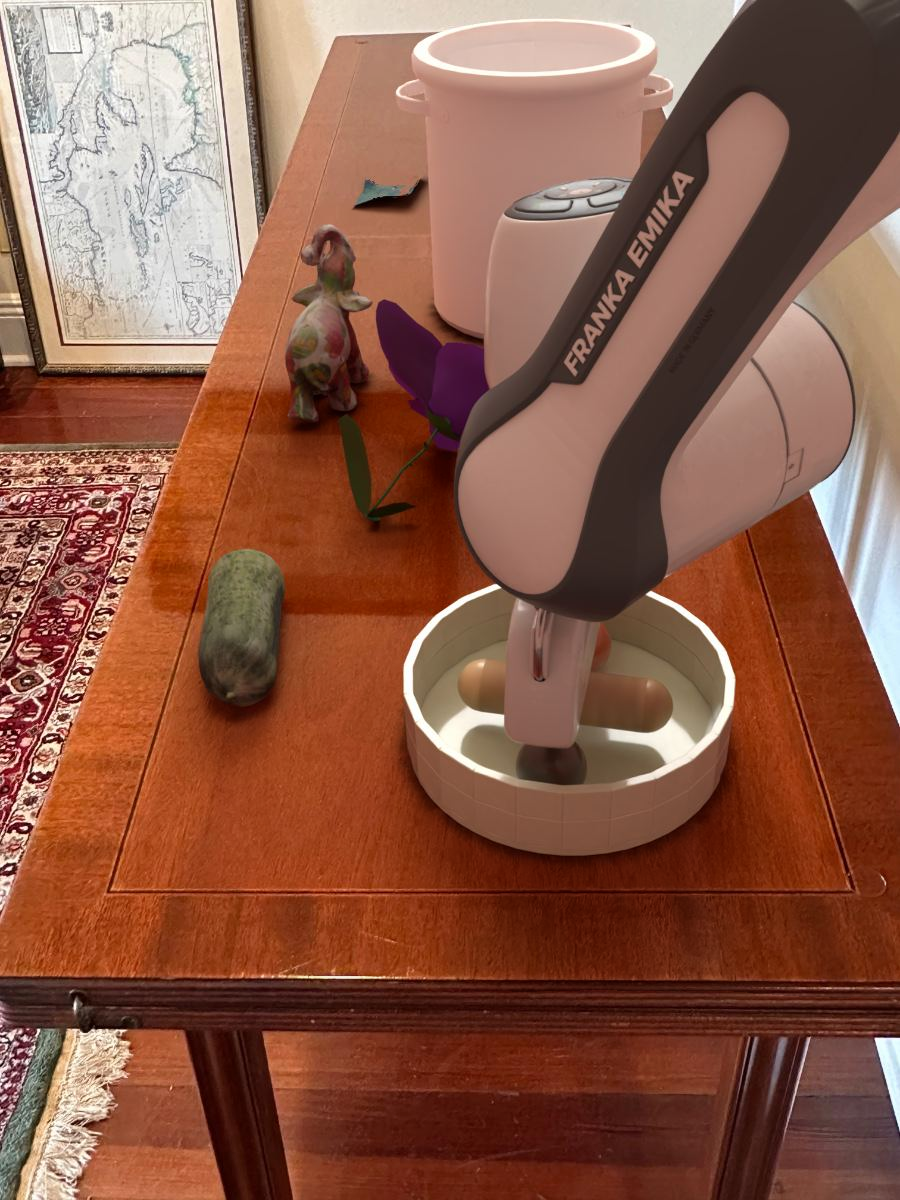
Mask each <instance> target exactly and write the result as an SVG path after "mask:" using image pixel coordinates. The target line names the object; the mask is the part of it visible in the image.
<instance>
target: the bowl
mask: <svg viewBox="0 0 900 1200" xmlns="http://www.w3.org/2000/svg"><path fill="white" fill-rule="evenodd" d="M515 600H516V597H515V596H513V595H511V594H510V593H508V592H507V591H505V590H504V589H502V588H501V587H499V586H498V585H497V584H496V583H494V584H491V585H489V586H487V587H483V588H482V589H478V590H477V591H474V592H471V593H470V594H467V595H464V596H462V597H460V598H459V599H457V600H456V601H454V602H453V603H452V604H450V605H448V606H447V607H446V608H444V609H443V610H441V611H439V612H438V613H437V614H435V615H434V616H432V618H431V619H430V620H429V622H428V623H426V625H425V626H424V627H423V628H422V630H421V631H420V632H419V633H418V634H417V635H416V637H414V639H413V641H412V643H411V646H410V648H409V651H408V654H407V655H406V658H405V661H404V663H403V667H402V687H403V688H402V695H403V696H402V697H403V698H402V699H403V708H404V711H403V712H404V723H405V735H406V747H407V750H408V755H409V758H410V759H409V760H410V762H411V766H412V769H413V772H414V774H415V775H416V777H417V779H418V782H419V784H420V785H421V787H422V788H423V789H424V791H425V792H426V794H427V796H429V799H431V800H432V801H433V802H434V803H435V804H436V805H437V807H439V808H440V810H442V812H444V813H445V814H446V815H448V816H449V817H450V818H451V819H453V820H454V821H455V822H457V823H458V824H459V825H461V826H463V827H464V828H466V829H468V830H470V831H471V832H473V833H475V834H477V835H479V836H481V837H483V838H486V839H488V840H490V841H493V842H495V843H497V844H500V845H503V846H507V847H510V848H513V849H516V850H522V851H524V852H525V851H527V852H531V853H535V854H543V855H551V856H562V857H563V856H564V857H565V856H566V857H567V856H569V857H570V856H571V857H573V856H575V857H576V856H577V857H578V856H582V857H584V856H586V857H587V856H595V855H604V854H611V853H616V852H620V851H624V850H630V849H632V848H635V847H638V846H641V845H645V844H649V843H650V842H652V841H655V840H657V839H659V838H661V837H663V836H666V835H668V834H670V833H671V832H673V831H674V830H676V829H678V828H679V827H680V826H682V825H684V824H685V823H687V821H688V820H690V819H691V818H692V817H693V816H695V815H696V814H697V813H698V812H700V810H701V809H702V808H703V806H705V804H706V803H707V802H708V800H709V799H710V798H711V796H712V795H713V793H714V792H715V790H716V788H717V787H718V785H719V783H720V780H721V777H722V774H723V772H724V769H725V765H726V764H727V758H728V753H729V744H730V739H731V731H732V723H733V716H734V710H735V698H736V684H737V679H736V675H735V673H734V669H733V666H732V663H731V661H730V660H731V659H730V657H729V654H728V652H727V649H726V648H725V646H724V645H723V644H722V643H721V641H720V640H719V639H718V638H717V636H716V635H715V633H714V632H713V631H712V630H711V628H710V627H709V626H708V625H707V624H706V623H704V622H703V621H702V620H700V619H699V618H698V617H697V616H696V615H694V614H693V613H691V612H690V611H689V610H687V608H685V607H684V606H682V605H681V604H679V603H678V602H676V601H673V600H672V599H670V598H667V597H665V596H663V595H661V594H659V593H656V592H655V591H653V590H651V591H650V592H649V593H647V594H646V595H644V596H643V597H642V598H640V599H639V600H638V601H636V602H635V603H633V604H632V605H631V606H629V607H628V608H627V609H625V610H624V611H622V612H621V613H620V614H618V615H617V616H615V617H614V618H612V619H609V620H607V621H602V623H603V624H604V625H605V626H606V628H607V629H608V631H609V634H610V637H611V645H612V646H611V653H610V656H609V658H608V660H607V662H606V663H605V664H604V666H603V667H602V668H601V669H599V670H598V671H597V672H600V673H608V674H616V675H624V676H633V677H641V678H649V679H653V680H656V681H658V682H660V683H661V684H663V685H664V686H665V687H666V688H667V689H668V691H669V692H670V694H671V697H672V700H673V712H672V715H671V718H670V720H669V721H668V723H667V724H666V725H665V726H664V727H663V728H661V729H659V730H658V731H655V732H651V733H639V732H631V731H624V730H616V729H608V728H601V727H593V726H585V725H579V728H578V732H577V736H576V739H575V741H576V742H577V743H578V744H579V746H580V747H581V748H582V750H583V752H584V754H585V757H586V761H587V775H586V778H585V781H584V784H582V785H556V784H549V783H542V782H535V781H528V780H521V779H518V778H517V775H516V759H517V756H518V753H519V751H520V749H521V747H522V746H523V745H524V744H522V743H517V742H514V741H512V740H511V739H510V738H509V737H508V736H507V734H506V732H505V728H504V715H501V714H493V713H486V712H479V711H475V710H473V709H471V708H470V707H468V706H467V705H466V704H465V703H464V702H463V701H462V699H461V697H460V695H459V692H458V679H459V676H460V673H461V672H462V670H463V669H464V668H465V667H466V666H467V665H468V664H469V663H471V662H472V661H475V660H478V659H493V660H501V661H506V652H507V642H508V634H509V627H510V620H511V615H512V611H513V607H514V604H515Z"/></svg>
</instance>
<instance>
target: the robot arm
mask: <svg viewBox="0 0 900 1200" xmlns="http://www.w3.org/2000/svg"><path fill="white" fill-rule="evenodd" d="M899 209H900V0H745V1H744V3H743V4H742V5H741V6H740V8H739V10H738V12H736V13H735V15H734V17H733V18H732V20H731V21H730V23H729V24H728V26H727V27H726V29H725V30H724V32H723V33H722V34H721V36H720V38H719V39H718V40H717V42H716V43H715V44H714V45H713V47H712V48H711V50H710V51H709V52H708V54H707V55H706V57H705V58H704V60H703V61H702V63H701V64H700V66H699V67H698V68H697V70H696V72H695V73H694V75H693V76H692V78H691V79H690V81H689V83H688V84H687V86H686V87H685V89H684V90H683V92H682V93H681V95H680V97H679V99H678V101H677V102H676V104H675V105H674V107H673V109H672V110H671V112H670V114H669V115H668V117H667V119H666V120H665V122H664V123H663V125H662V127H661V129H660V131H659V132H658V134H657V135H656V138H655V139H654V141H653V142H652V144H651V146H650V148H649V149H648V151H647V153H646V154H645V156H644V159H643V160H642V162H641V163H640V167H639V169H638V171H637V173H636V174H635V176H634V178H628V177H598V178H589V179H588V180H580V181H574V182H572V181H570V182H566V183H562V184H559V185H555V186H552V187H549V188H546V189H543V190H540V191H538V192H535V193H532V194H530V195H527V196H525V197H523V198H521V199H519V200H517V201H515V202H514V203H513V205H511V206H510V207H509V208H507V209H506V211H504V212H503V214H502V215H501V217H500V219H499V221H498V224H497V227H496V229H495V232H494V236H493V240H492V244H491V248H490V254H489V260H488V267H487V276H486V289H485V307H484V340H483V348H484V366H485V375H486V380H487V383H488V386H489V389H490V390H489V391H487V392H486V393H485V394H484V395H483V396H482V397H481V398H480V399H479V400H478V401H477V402H476V403H475V405H474V406H473V408H472V410H471V412H470V415H469V417H468V420H467V423H466V425H465V428H464V431H463V434H462V437H461V441H460V445H459V448H458V449H457V455H456V461H455V468H454V479H453V501H454V502H453V504H454V509H455V514H456V515H455V516H456V519H457V523H458V527H459V530H460V532H461V535H462V538H463V540H464V542H465V544H466V547H467V548H468V550H469V552H470V554H471V556H472V558H473V560H475V562H476V563H477V565H478V566H479V568H480V569H481V570H482V571H483V572H484V574H485V575H486V576H487V577H488V579H490V580H491V581H492V582H493V583H494V584H497V585H498V586H499V587H501V588H502V589H504V590H505V591H507V592H508V593H510V594H511V595H513V596H515V597H516V600H515V604H514V607H513V611H512V615H511V620H510V627H509V634H508V642H507V652H506V673H505V703H504V728H505V732H506V734H507V736H508V737H509V738H510V739H511V740H512V741H514V742H517V743H522V744H527V745H532V746H538V747H548V748H561V749H565V748H569V747H571V746H572V745H573V744H574V742H575V739H576V736H577V732H578V728H579V723H580V718H581V713H582V708H583V704H584V699H585V694H586V689H587V684H588V679H589V675H590V670H591V665H592V660H593V655H594V650H595V646H596V641H597V636H598V631H599V626H600V622H602V621H607V620H609V619H612V618H614V617H615V616H617V615H618V614H620V613H621V612H622V611H624V610H625V609H627V608H628V607H629V606H631V605H632V604H633V603H635V602H636V601H638V600H639V599H640V598H642V597H643V596H644V595H646V594H647V593H649V592H650V591H653V590H654V589H656V588H657V587H658V586H660V585H661V584H662V583H663V581H664V580H665V579H666V578H668V577H669V576H671V575H673V574H674V573H676V572H678V571H680V570H681V569H683V568H685V567H686V566H688V565H689V564H692V563H694V562H695V561H696V560H698V559H699V558H701V557H703V556H705V555H707V554H708V553H710V552H711V551H713V550H715V549H717V548H718V547H720V546H721V545H723V544H725V543H727V542H728V541H730V540H732V539H733V538H735V537H737V536H738V535H740V534H742V533H743V532H745V531H747V530H749V529H750V528H752V527H753V526H756V524H758V523H759V522H760V521H762V520H764V519H765V518H767V517H768V516H771V515H772V514H774V513H775V512H777V511H779V510H780V509H782V508H784V507H786V506H787V505H788V504H789V505H790V503H792V502H794V501H795V500H796V499H799V498H800V497H802V496H803V495H805V494H806V493H808V492H809V491H811V490H812V489H813V488H815V487H816V486H818V485H819V484H820V483H822V482H824V481H826V480H827V479H829V478H830V477H831V476H832V475H833V474H834V473H835V472H836V471H837V470H838V468H839V467H840V466H841V464H842V463H843V462H844V460H845V458H846V456H847V454H848V452H849V449H850V447H851V444H852V441H853V435H854V431H855V424H856V414H857V404H856V403H857V401H856V391H855V386H854V380H853V376H852V371H851V368H850V365H849V363H848V361H847V358H846V356H845V353H844V351H843V349H842V348H841V346H840V344H839V342H838V341H837V339H836V338H835V336H834V335H833V333H832V332H831V331H830V329H829V328H828V327H827V326H826V325H825V324H824V322H823V321H821V319H819V318H818V317H817V316H816V315H815V314H813V313H812V312H811V311H810V310H808V309H807V308H806V307H804V306H803V305H802V304H799V303H798V302H796V301H795V300H796V298H797V297H798V296H799V295H800V294H801V293H802V291H803V290H804V289H806V287H807V286H808V285H809V284H810V283H811V282H812V281H813V280H814V278H815V277H816V276H817V275H818V274H819V273H820V272H821V271H822V270H823V269H824V268H825V267H827V266H828V265H829V263H831V262H832V261H833V260H834V259H835V258H836V257H837V256H839V255H840V254H841V253H842V252H844V250H846V249H847V248H848V247H849V246H851V244H854V242H855V241H857V239H859V238H861V236H863V235H864V234H866V233H867V232H868V231H870V230H871V229H872V228H874V227H875V226H877V224H879V223H880V222H882V221H883V220H884V219H886V218H888V217H889V216H890V215H892V214H893V213H895V212H897V211H898V210H899Z"/></svg>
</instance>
